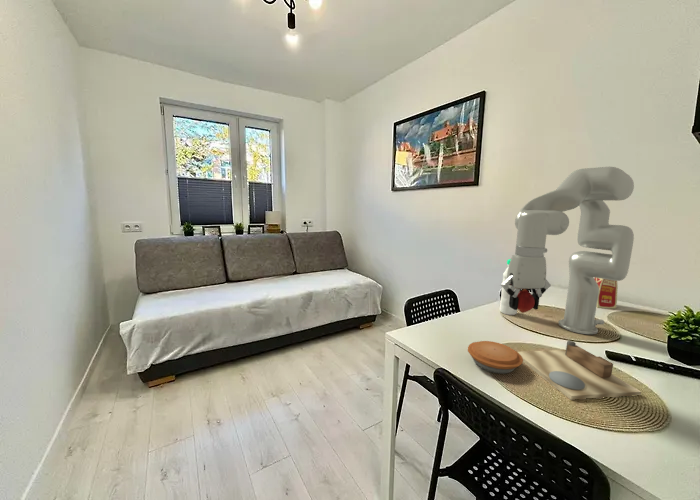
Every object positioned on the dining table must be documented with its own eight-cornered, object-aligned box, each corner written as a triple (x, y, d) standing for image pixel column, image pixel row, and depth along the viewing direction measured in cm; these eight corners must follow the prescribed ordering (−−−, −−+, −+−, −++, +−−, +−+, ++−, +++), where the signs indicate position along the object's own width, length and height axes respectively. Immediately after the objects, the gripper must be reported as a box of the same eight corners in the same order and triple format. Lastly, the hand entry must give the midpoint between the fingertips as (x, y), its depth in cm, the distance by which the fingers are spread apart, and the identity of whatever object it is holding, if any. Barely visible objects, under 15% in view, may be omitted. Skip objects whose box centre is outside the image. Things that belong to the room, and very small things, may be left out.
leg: (563, 353, 94) (565, 340, 93) (569, 353, 94) (571, 340, 93) (602, 377, 81) (604, 363, 80) (610, 377, 81) (612, 362, 80)
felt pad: (567, 371, 84) (567, 370, 84) (592, 389, 76) (592, 387, 76) (542, 373, 83) (542, 371, 83) (565, 390, 75) (565, 389, 75)
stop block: (598, 368, 86) (599, 356, 86) (611, 376, 82) (613, 363, 82) (593, 368, 86) (595, 356, 85) (606, 376, 82) (608, 364, 81)
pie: (457, 360, 92) (458, 346, 91) (482, 346, 101) (483, 333, 100) (506, 385, 80) (508, 368, 79) (530, 366, 89) (532, 351, 88)
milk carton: (597, 307, 140) (603, 267, 137) (585, 301, 149) (591, 263, 146) (618, 309, 139) (625, 268, 135) (605, 302, 148) (611, 264, 144)
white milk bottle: (516, 316, 128) (522, 262, 124) (498, 313, 132) (503, 260, 128) (516, 311, 134) (522, 259, 130) (500, 308, 138) (505, 257, 133)
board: (569, 352, 97) (570, 349, 97) (640, 395, 76) (641, 391, 75) (514, 355, 95) (514, 351, 95) (570, 400, 74) (571, 395, 74)
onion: (528, 309, 93) (530, 285, 92) (537, 316, 88) (540, 291, 86) (509, 308, 94) (511, 285, 93) (516, 315, 88) (519, 290, 87)
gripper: (547, 249, 92) (540, 303, 95) (495, 250, 91) (490, 304, 94) (566, 254, 84) (558, 312, 87) (509, 254, 83) (504, 313, 86)
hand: (523, 307), depth 90 cm, fingers closed on onion, 5 cm apart
